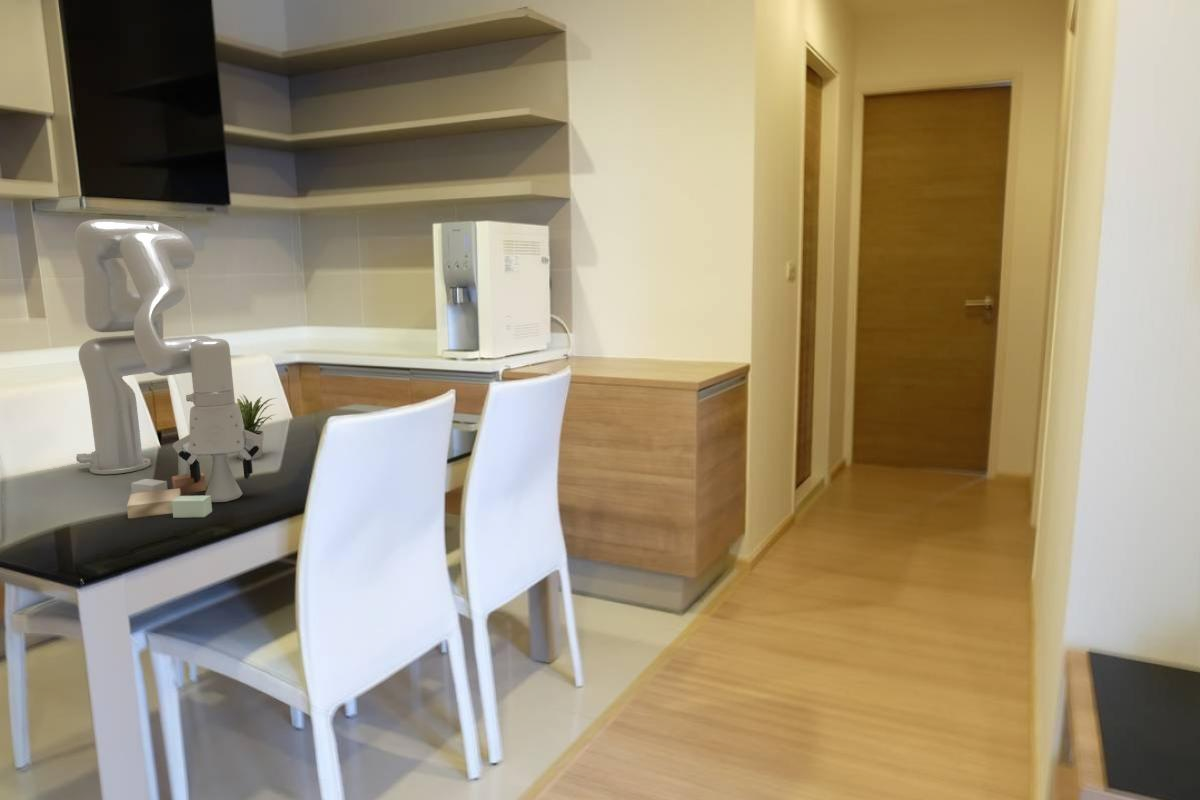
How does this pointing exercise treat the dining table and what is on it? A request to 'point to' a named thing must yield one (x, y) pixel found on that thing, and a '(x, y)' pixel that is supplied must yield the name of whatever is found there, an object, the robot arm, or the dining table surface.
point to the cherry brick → (188, 483)
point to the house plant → (252, 422)
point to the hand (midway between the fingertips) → (222, 479)
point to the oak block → (151, 503)
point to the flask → (222, 481)
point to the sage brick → (191, 506)
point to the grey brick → (148, 485)
